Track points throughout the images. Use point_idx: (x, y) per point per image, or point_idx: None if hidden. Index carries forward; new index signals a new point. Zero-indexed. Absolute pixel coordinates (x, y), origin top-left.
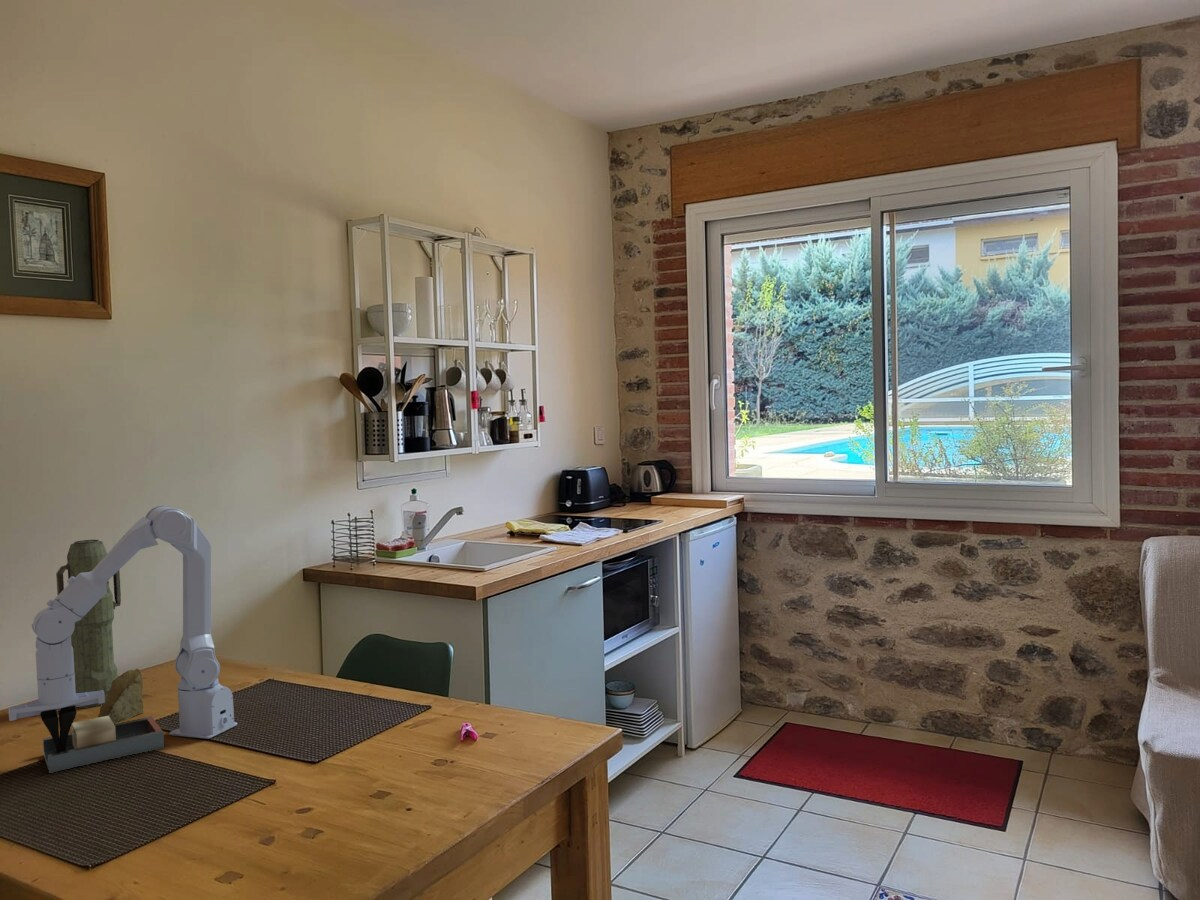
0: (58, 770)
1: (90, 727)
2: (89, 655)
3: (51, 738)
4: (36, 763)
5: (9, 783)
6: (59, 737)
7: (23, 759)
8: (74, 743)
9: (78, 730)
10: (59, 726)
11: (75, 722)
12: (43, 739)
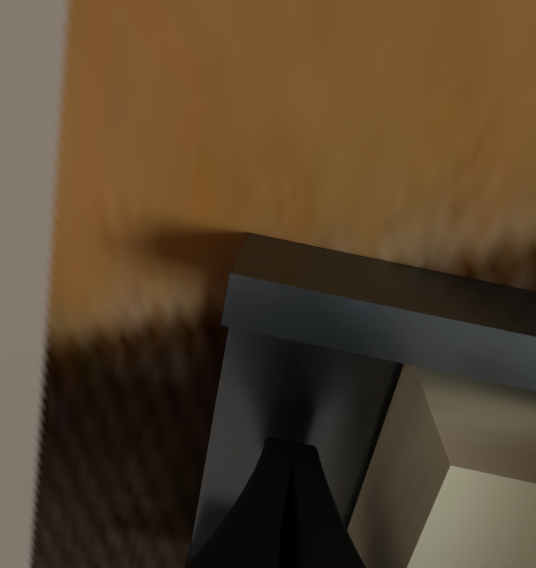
0: None
1: None
2: None
3: (282, 330)
4: (180, 348)
5: (34, 507)
6: (295, 488)
7: (133, 206)
8: (380, 475)
9: None
10: (300, 559)
11: (482, 479)
12: (230, 296)
